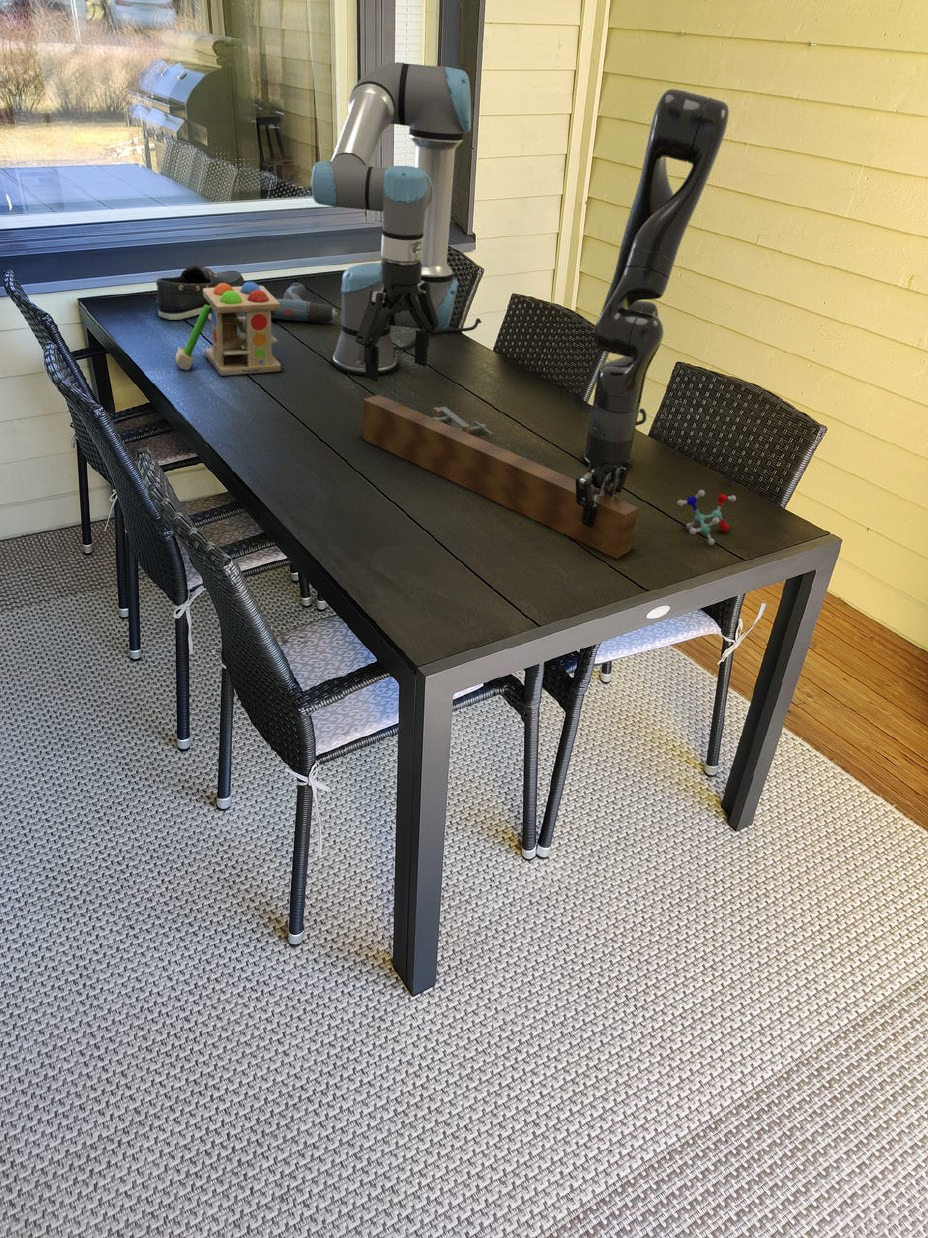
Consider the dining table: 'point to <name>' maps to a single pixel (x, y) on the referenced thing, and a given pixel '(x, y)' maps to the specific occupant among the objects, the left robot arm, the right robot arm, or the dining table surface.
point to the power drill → (301, 307)
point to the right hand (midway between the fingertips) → (595, 520)
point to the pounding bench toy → (229, 347)
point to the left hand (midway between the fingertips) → (396, 371)
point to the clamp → (456, 421)
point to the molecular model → (700, 517)
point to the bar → (497, 475)
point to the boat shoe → (190, 291)
